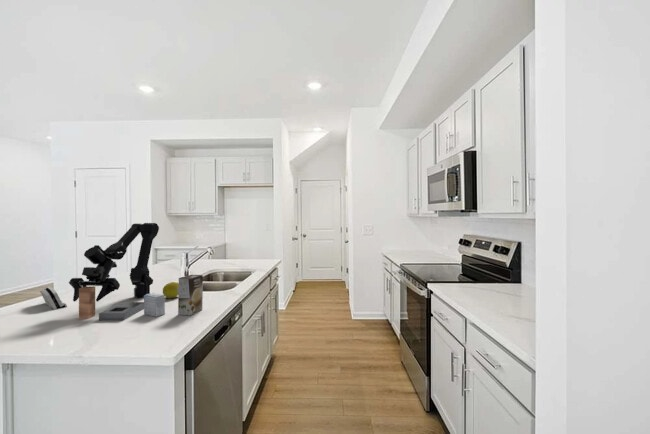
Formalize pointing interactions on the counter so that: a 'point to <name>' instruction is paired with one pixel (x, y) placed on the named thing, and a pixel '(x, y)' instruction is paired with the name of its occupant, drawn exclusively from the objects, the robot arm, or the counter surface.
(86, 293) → the square peg
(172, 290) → the lemon
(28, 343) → the counter surface
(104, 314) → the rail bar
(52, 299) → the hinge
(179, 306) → the coffee box
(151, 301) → the medicine box
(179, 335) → the counter surface
